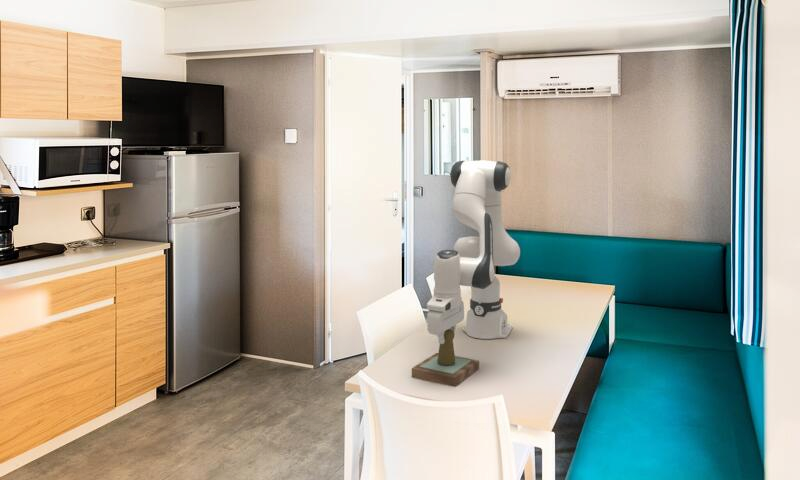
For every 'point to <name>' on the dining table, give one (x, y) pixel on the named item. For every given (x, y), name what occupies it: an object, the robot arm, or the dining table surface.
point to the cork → (447, 349)
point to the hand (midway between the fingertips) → (446, 340)
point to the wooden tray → (445, 370)
